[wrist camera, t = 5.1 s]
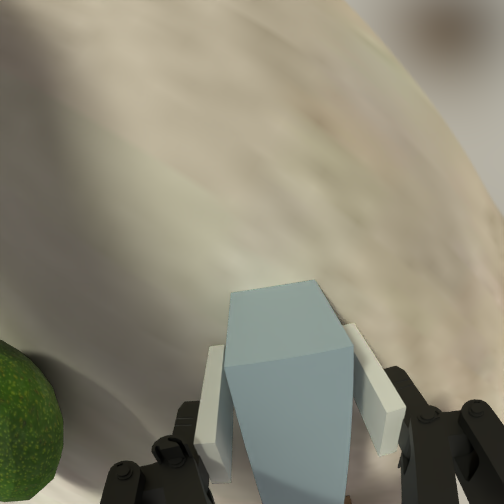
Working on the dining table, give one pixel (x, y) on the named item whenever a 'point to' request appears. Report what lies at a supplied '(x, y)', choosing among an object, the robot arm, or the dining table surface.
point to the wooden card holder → (347, 500)
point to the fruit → (26, 427)
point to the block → (291, 391)
